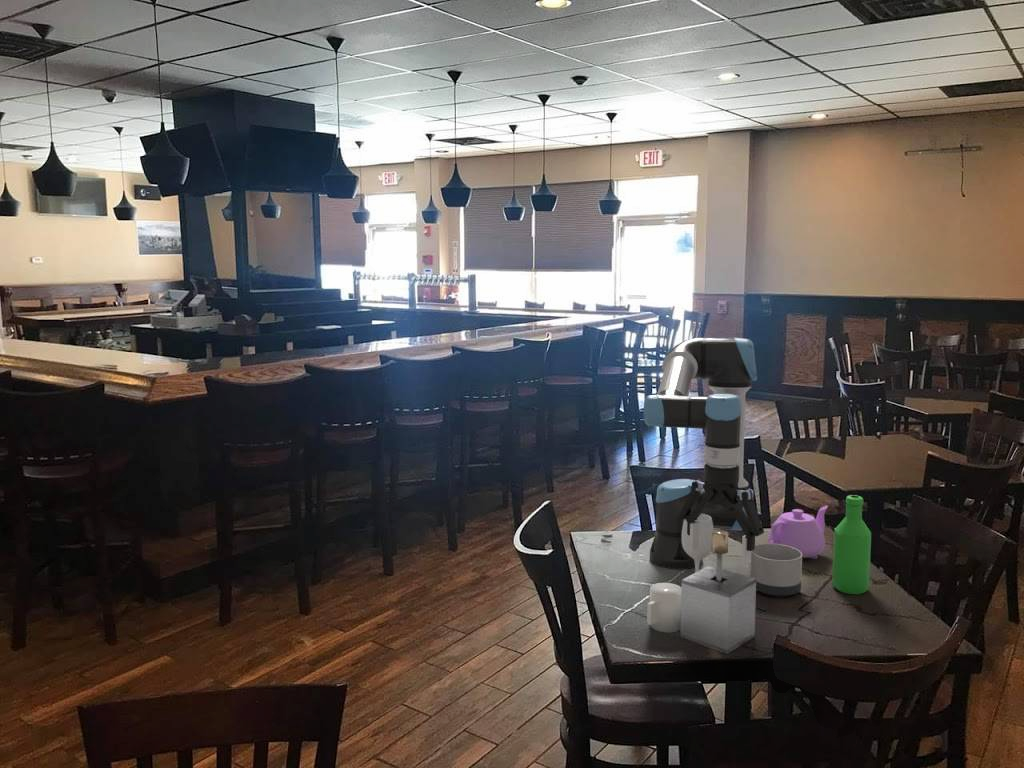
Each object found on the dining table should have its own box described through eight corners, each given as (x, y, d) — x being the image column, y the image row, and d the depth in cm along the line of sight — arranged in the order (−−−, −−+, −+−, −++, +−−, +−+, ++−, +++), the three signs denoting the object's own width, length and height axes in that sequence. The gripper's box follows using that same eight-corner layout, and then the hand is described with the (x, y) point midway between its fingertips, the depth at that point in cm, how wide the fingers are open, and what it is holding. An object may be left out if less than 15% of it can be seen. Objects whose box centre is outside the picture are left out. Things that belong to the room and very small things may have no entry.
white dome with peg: (635, 629, 183) (635, 593, 182) (661, 615, 191) (662, 580, 190) (662, 640, 178) (663, 602, 177) (688, 624, 186) (689, 588, 184)
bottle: (872, 596, 200) (877, 502, 197) (835, 594, 202) (840, 500, 198) (863, 583, 209) (868, 492, 205) (829, 581, 210) (833, 491, 207)
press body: (680, 637, 179) (681, 579, 177) (708, 620, 188) (709, 565, 186) (727, 654, 171) (729, 594, 169) (754, 636, 179) (756, 578, 177)
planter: (808, 589, 206) (810, 550, 204) (788, 604, 196) (790, 564, 195) (762, 576, 214) (763, 540, 213) (740, 591, 205) (741, 552, 203)
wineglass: (715, 590, 205) (717, 513, 202) (712, 604, 197) (714, 523, 194) (681, 587, 208) (682, 510, 205) (677, 599, 200) (678, 520, 197)
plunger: (688, 630, 179) (690, 532, 176) (710, 617, 186) (712, 523, 182) (725, 643, 172) (728, 542, 169) (746, 629, 179) (749, 532, 176)
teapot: (806, 541, 242) (808, 498, 240) (846, 557, 228) (849, 511, 226) (751, 552, 233) (752, 507, 231) (789, 570, 219) (791, 522, 217)
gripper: (665, 458, 180) (664, 547, 183) (765, 476, 162) (762, 575, 165) (683, 452, 185) (681, 540, 188) (782, 470, 168) (778, 565, 171)
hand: (719, 556), depth 177 cm, fingers open, 12 cm apart
